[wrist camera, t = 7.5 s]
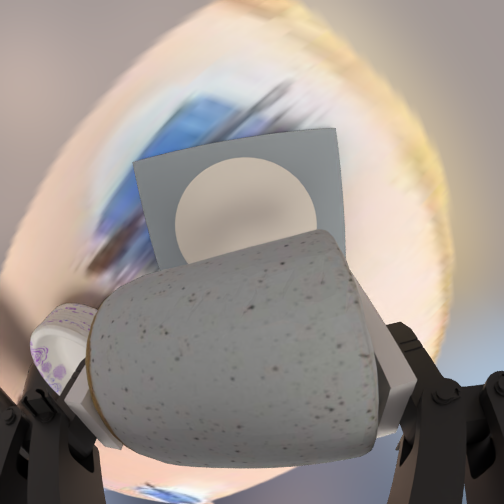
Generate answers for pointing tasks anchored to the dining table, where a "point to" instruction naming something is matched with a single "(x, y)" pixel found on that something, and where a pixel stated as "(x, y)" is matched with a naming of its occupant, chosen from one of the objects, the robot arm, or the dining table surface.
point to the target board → (241, 194)
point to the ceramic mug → (239, 359)
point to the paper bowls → (61, 343)
